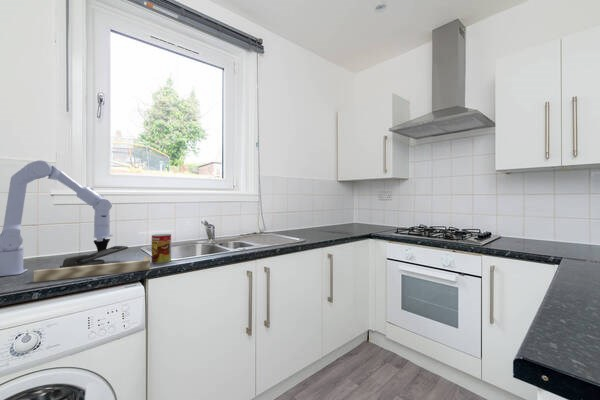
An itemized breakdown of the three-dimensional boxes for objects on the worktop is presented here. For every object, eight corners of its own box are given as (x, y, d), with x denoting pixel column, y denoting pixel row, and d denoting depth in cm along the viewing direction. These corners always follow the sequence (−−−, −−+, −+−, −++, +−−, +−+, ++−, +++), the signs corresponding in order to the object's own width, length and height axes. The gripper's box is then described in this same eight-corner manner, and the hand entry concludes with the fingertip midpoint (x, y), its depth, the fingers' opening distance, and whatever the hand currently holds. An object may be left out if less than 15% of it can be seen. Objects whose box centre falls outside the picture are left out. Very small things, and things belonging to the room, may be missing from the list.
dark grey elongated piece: (130, 246, 126) (72, 256, 102) (130, 260, 126) (72, 273, 102) (115, 245, 128) (55, 255, 104) (115, 259, 128) (55, 272, 104)
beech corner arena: (33, 282, 91) (33, 271, 91) (46, 273, 102) (46, 264, 102) (150, 269, 107) (150, 260, 107) (149, 263, 119) (149, 255, 119)
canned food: (149, 261, 124) (149, 234, 124) (168, 258, 129) (168, 233, 129) (154, 263, 118) (154, 236, 118) (173, 261, 123) (173, 234, 123)
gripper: (110, 226, 119) (110, 257, 119) (114, 224, 132) (114, 252, 132) (90, 226, 116) (90, 258, 116) (96, 224, 129) (96, 253, 128)
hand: (101, 255), depth 123 cm, fingers closed
